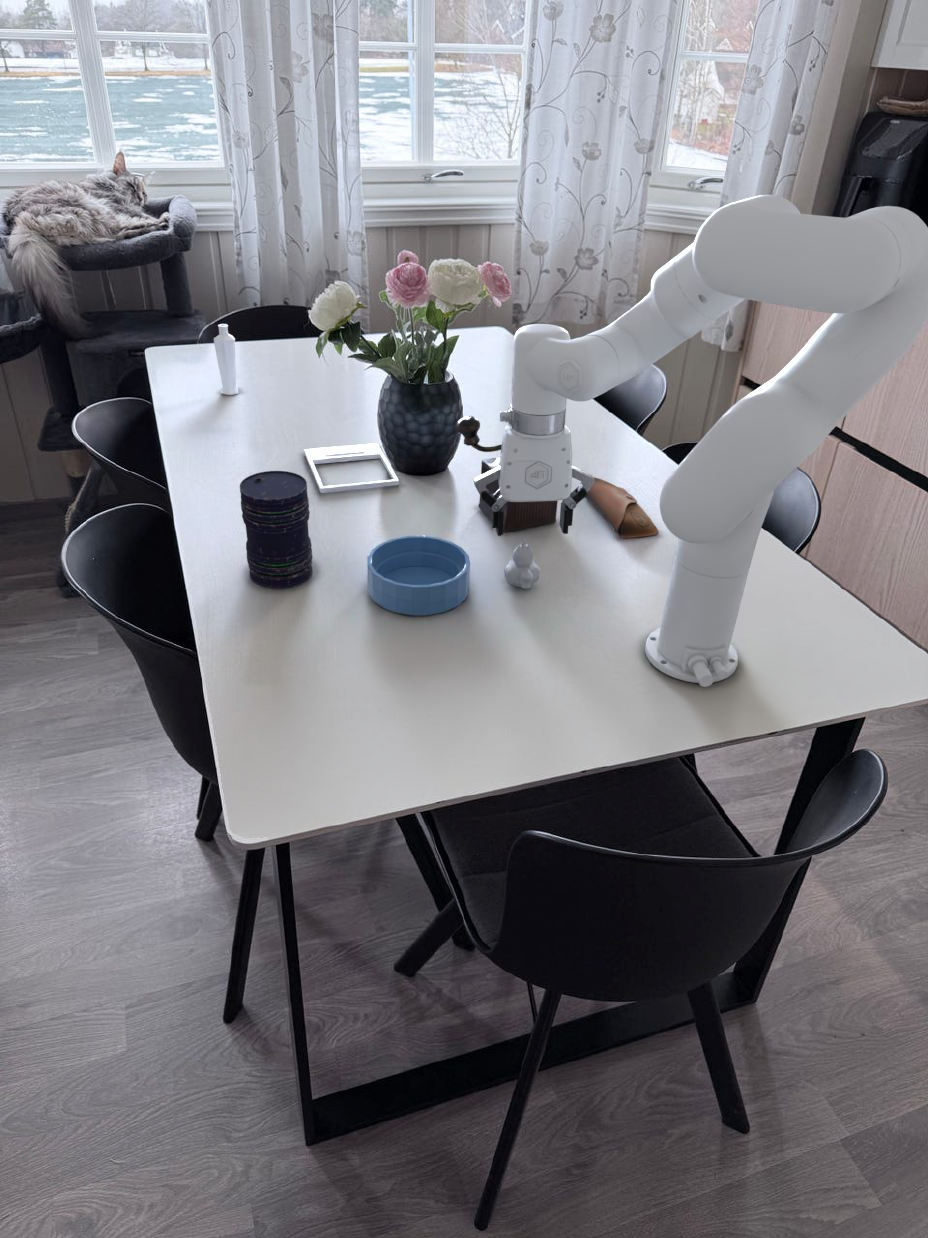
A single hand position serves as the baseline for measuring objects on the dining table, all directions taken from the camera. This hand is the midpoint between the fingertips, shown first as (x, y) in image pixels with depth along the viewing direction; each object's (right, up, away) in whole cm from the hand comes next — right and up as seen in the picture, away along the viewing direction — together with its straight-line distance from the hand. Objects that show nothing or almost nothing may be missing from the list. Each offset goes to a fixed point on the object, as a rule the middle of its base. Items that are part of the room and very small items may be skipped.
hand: (531, 530), depth 131 cm
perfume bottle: (-63, +38, +71) cm, 103 cm away
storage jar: (-38, -6, +7) cm, 39 cm away
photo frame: (-32, +16, +39) cm, 53 cm away
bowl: (-17, -9, +4) cm, 19 cm away
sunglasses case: (+18, +6, +28) cm, 34 cm away
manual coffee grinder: (-3, +5, +25) cm, 26 cm away
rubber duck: (-1, -8, +6) cm, 10 cm away
